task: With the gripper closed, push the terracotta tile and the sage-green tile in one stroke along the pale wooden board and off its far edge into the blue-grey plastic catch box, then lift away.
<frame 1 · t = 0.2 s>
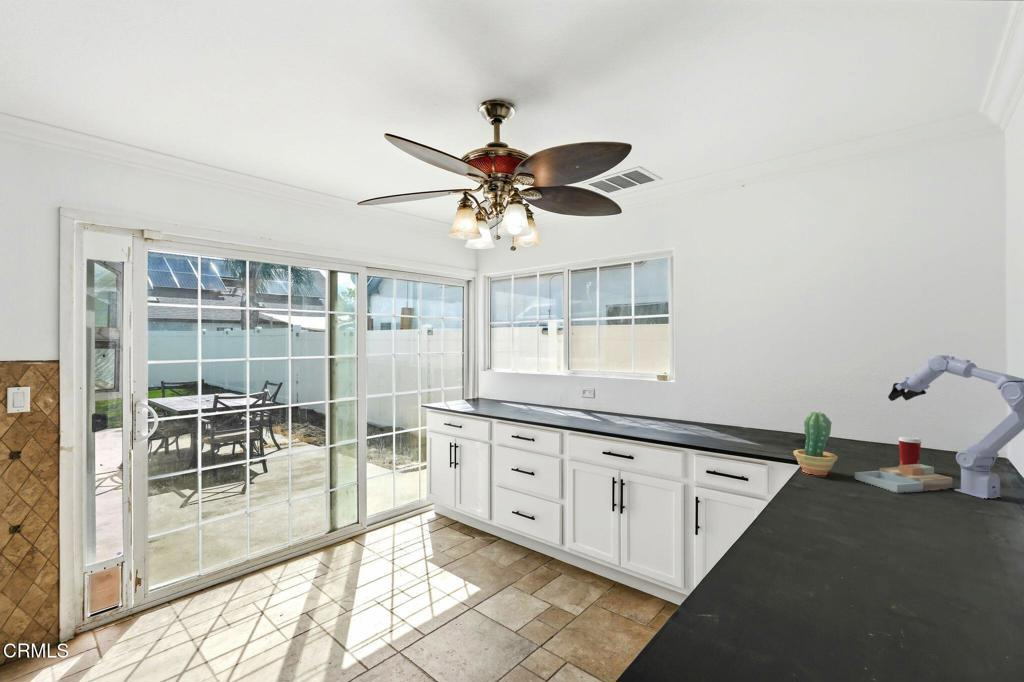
hand: (897, 398, 194), 31 cm above the countertop, tool tilted 45°, fingers open, 7 cm apart
potted cactus: (814, 473, 191), on the countertop
sage tile: (921, 472, 179), point 4 cm above the countertop, touching wooden board
wooden board: (914, 483, 179), on the countertop
terracotta tile: (910, 473, 178), point 4 cm above the countertop, touching wooden board
paper cup: (909, 471, 196), on the countertop
catch box: (887, 485, 176), on the countertop
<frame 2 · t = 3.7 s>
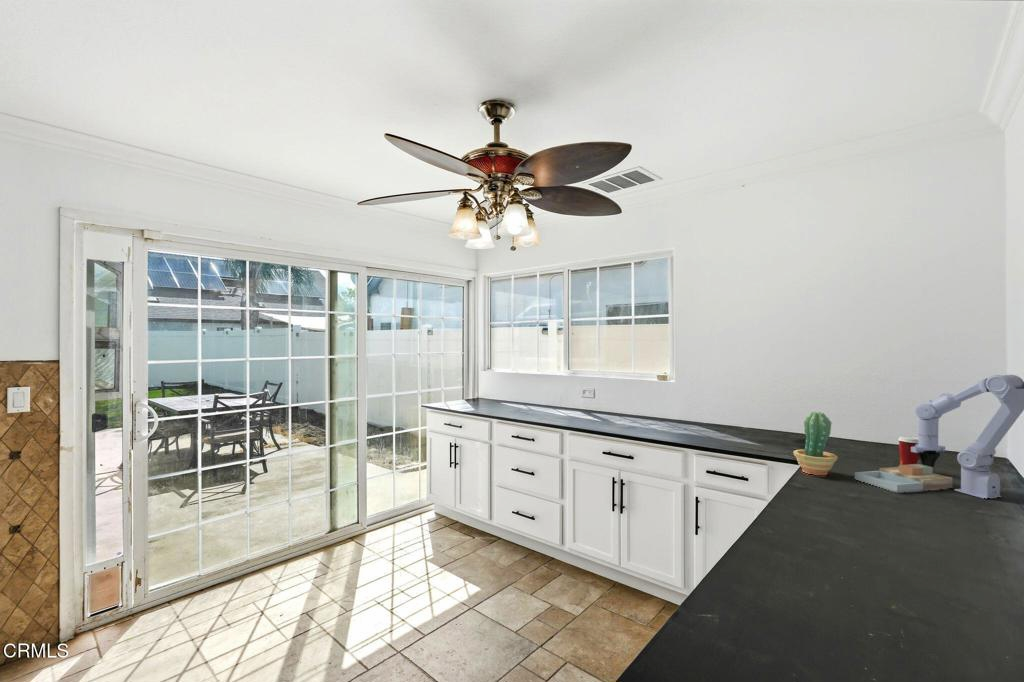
hand: (927, 470, 180), 5 cm above the countertop, tool pointing down, fingers closed
sage tile: (920, 472, 179), point 4 cm above the countertop, touching gripper
everything else where it was.
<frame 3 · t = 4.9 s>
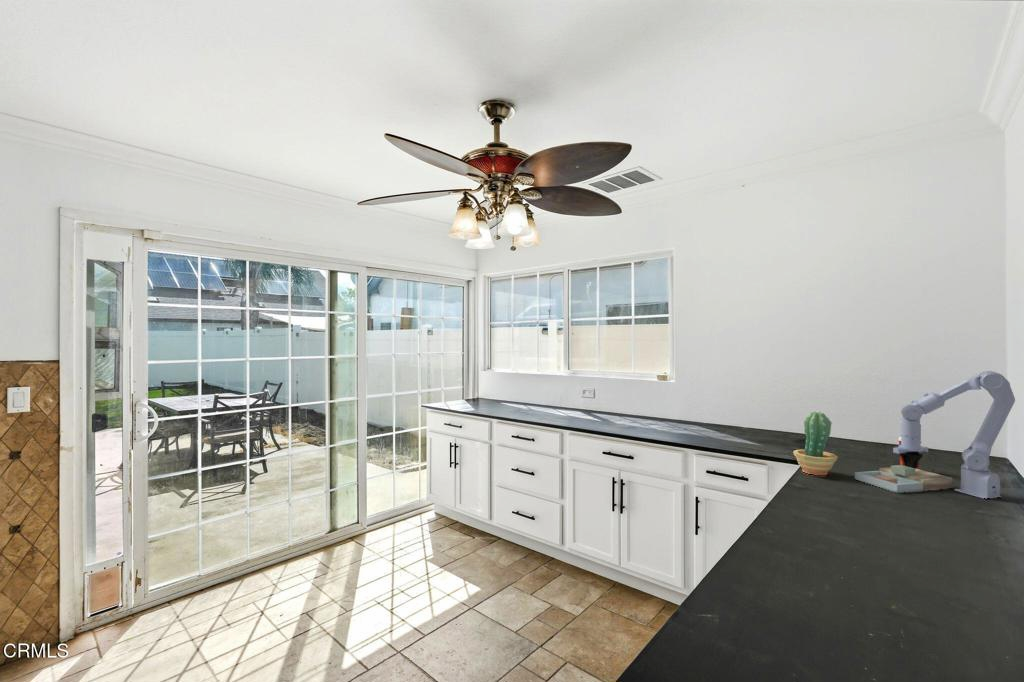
hand: (910, 471, 178), 5 cm above the countertop, tool pointing down, fingers closed
sage tile: (902, 473, 177), point 4 cm above the countertop, touching gripper, wooden board
terracotta tile: (885, 477, 175), point 3 cm above the countertop, tilted 180°, touching catch box
everything else where it was.
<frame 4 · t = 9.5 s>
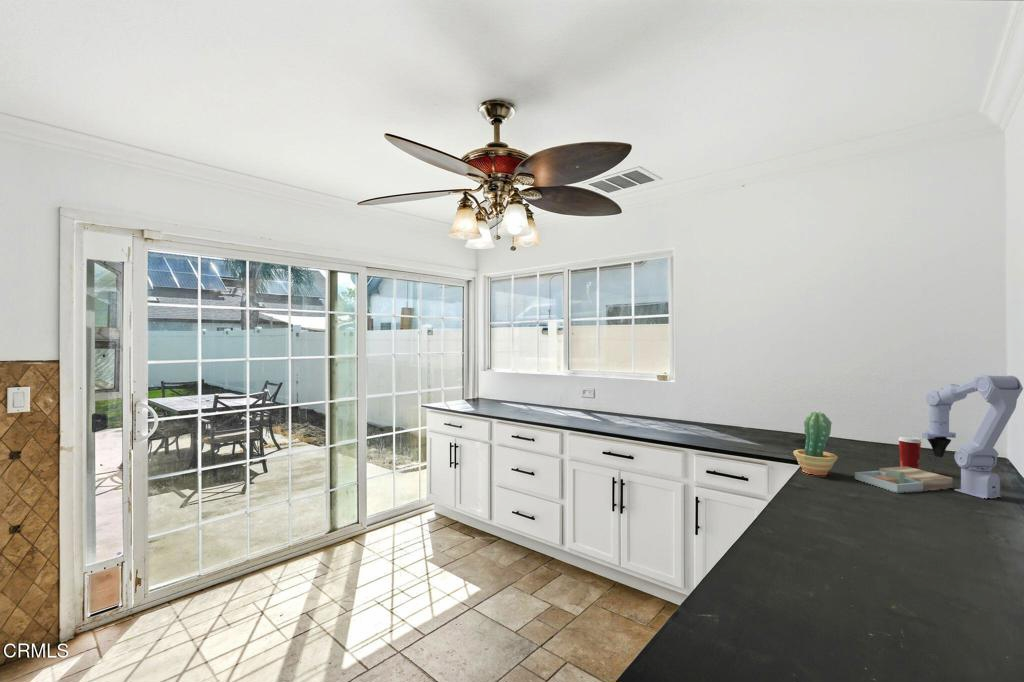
hand: (938, 456, 183), 9 cm above the countertop, tool pointing down, fingers closed
sage tile: (897, 476, 176), point 3 cm above the countertop, tilted 90°, touching catch box
everything else where it was.
at the end: terracotta tile inside the target area (1.5 cm from its centre), point 3.1 cm above the countertop; sage tile inside the target area (4.0 cm from its centre), point 3.1 cm above the countertop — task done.
